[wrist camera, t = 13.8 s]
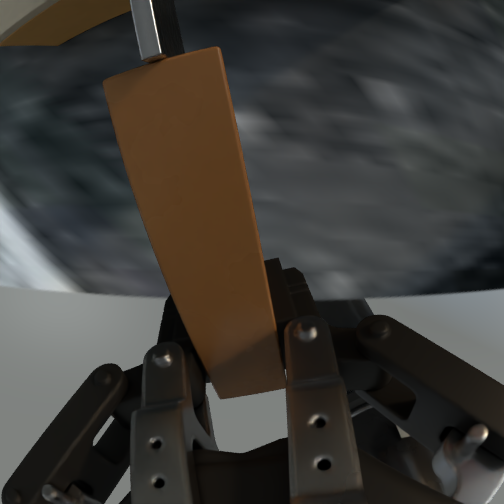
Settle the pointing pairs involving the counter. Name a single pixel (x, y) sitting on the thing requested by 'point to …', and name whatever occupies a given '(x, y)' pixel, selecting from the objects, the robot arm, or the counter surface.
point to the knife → (197, 200)
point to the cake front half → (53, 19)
